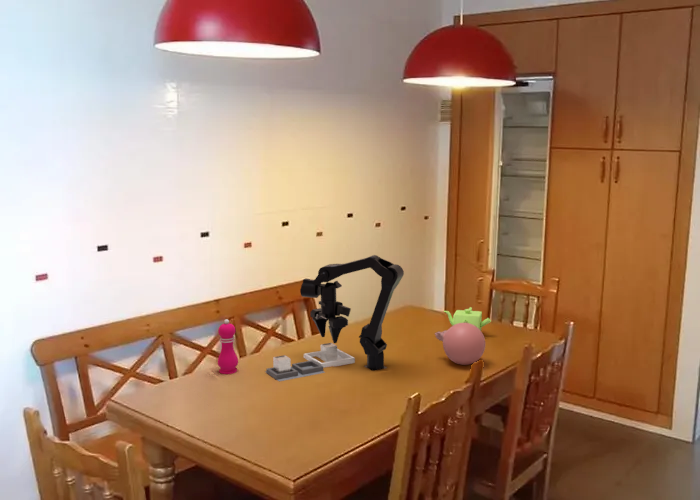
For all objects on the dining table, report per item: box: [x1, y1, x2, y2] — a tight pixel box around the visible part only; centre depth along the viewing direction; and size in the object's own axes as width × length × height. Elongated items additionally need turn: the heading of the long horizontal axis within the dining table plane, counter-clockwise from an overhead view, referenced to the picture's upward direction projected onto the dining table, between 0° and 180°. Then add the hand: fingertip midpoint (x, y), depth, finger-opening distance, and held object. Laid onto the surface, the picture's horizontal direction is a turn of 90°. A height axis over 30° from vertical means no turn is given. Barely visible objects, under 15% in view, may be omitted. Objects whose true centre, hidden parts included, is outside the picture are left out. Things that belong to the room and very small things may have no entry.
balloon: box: [434, 323, 486, 366], centre depth 273 cm, size 15×20×15 cm
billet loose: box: [320, 342, 338, 363], centre depth 275 cm, size 4×4×6 cm
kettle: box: [443, 306, 492, 332], centre depth 309 cm, size 15×14×11 cm
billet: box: [272, 355, 292, 374], centre depth 259 cm, size 4×4×6 cm
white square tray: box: [303, 348, 356, 369], centre depth 275 cm, size 14×14×2 cm
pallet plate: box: [264, 360, 326, 382], centre depth 262 cm, size 12×18×3 cm, turn 120°
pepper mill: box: [217, 319, 239, 375], centre depth 261 cm, size 7×7×20 cm
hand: (329, 340), depth 274 cm, fingers open, 9 cm apart
